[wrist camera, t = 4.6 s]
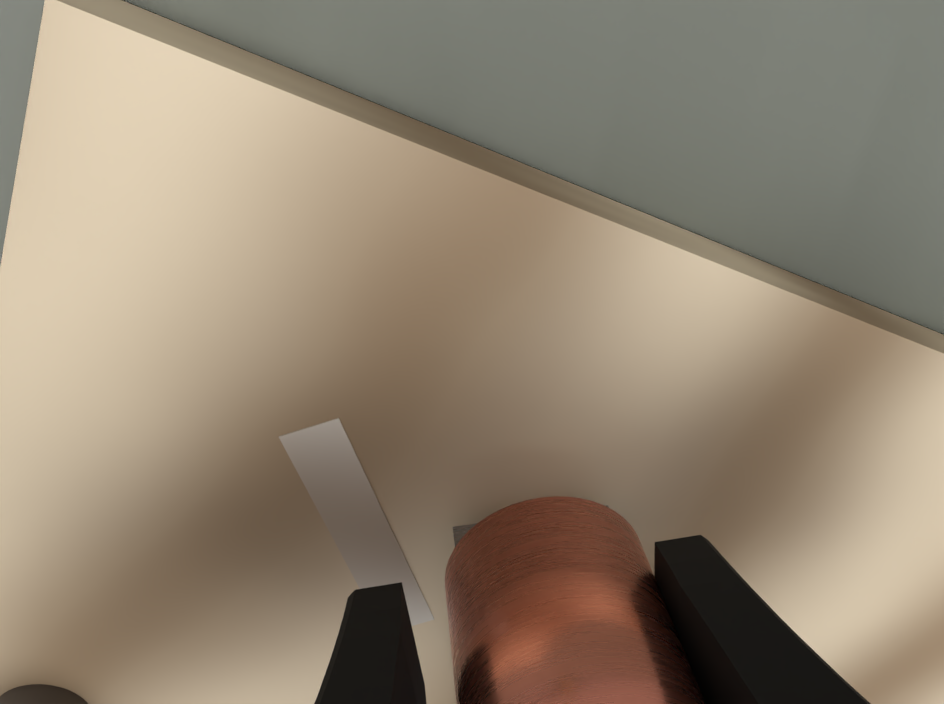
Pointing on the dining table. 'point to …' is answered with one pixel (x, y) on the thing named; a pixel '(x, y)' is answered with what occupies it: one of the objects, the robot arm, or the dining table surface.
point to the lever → (560, 611)
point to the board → (400, 386)
